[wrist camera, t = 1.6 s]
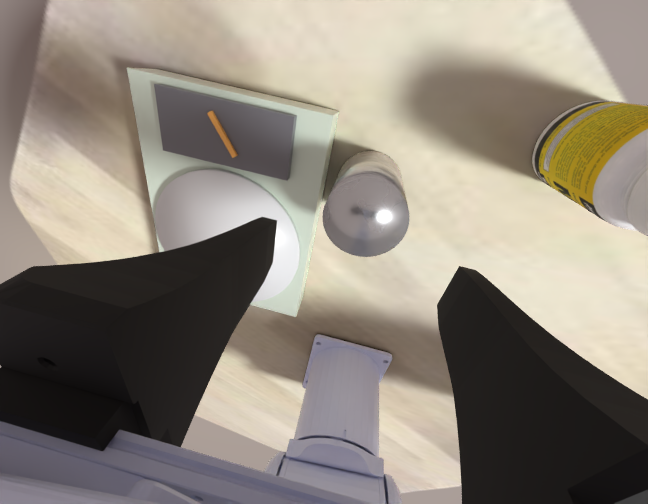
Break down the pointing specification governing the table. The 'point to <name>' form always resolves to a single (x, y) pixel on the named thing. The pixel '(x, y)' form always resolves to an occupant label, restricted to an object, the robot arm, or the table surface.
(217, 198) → the scale
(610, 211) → the supplement bottle
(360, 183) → the cylinder
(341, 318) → the table surface
